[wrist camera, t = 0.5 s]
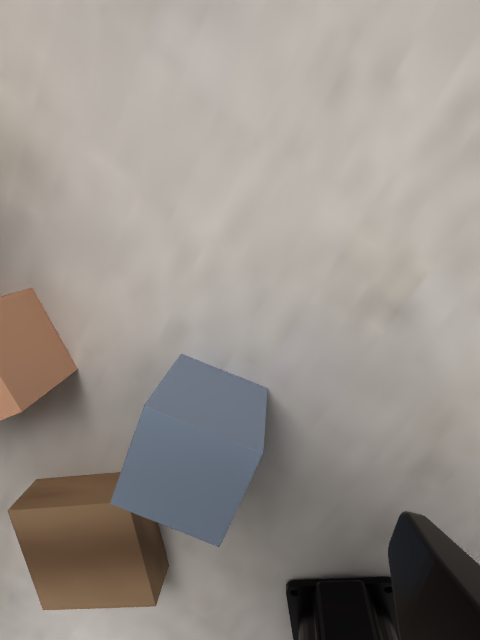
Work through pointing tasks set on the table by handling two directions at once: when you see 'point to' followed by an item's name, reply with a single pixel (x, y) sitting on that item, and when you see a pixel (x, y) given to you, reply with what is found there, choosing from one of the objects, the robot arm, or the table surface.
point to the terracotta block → (28, 353)
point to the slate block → (194, 450)
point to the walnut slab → (87, 545)
